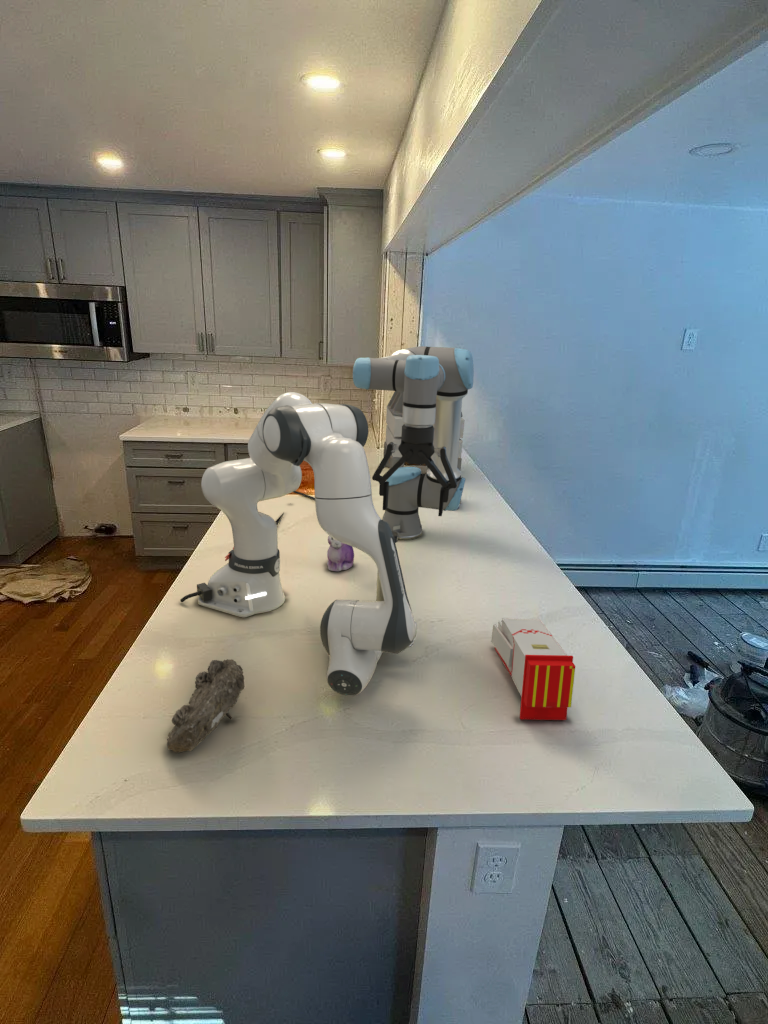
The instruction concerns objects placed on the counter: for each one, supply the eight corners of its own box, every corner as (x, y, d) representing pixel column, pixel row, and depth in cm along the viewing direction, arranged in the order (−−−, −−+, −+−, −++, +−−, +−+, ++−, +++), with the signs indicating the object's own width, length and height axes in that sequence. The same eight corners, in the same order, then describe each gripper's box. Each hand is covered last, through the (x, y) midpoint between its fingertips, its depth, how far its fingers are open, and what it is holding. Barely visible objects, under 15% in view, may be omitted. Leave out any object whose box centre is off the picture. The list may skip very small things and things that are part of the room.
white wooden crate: (382, 463, 289) (386, 382, 275) (445, 464, 293) (451, 384, 279) (390, 482, 257) (394, 392, 243) (460, 483, 261) (468, 394, 247)
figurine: (332, 575, 167) (332, 527, 162) (319, 561, 175) (319, 516, 170) (361, 569, 171) (362, 523, 166) (347, 556, 179) (348, 512, 174)
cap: (394, 536, 139) (395, 529, 139) (399, 543, 135) (400, 536, 135) (378, 537, 138) (378, 530, 138) (382, 544, 134) (382, 537, 134)
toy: (537, 603, 136) (584, 662, 106) (532, 655, 138) (577, 726, 109) (487, 602, 135) (520, 661, 106) (483, 654, 138) (514, 725, 109)
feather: (291, 507, 225) (293, 503, 224) (273, 530, 198) (276, 526, 198) (287, 504, 224) (289, 500, 224) (269, 528, 198) (272, 523, 197)
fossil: (192, 660, 117) (244, 628, 112) (224, 691, 120) (276, 661, 115) (142, 746, 98) (202, 712, 93) (182, 779, 101) (242, 748, 96)
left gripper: (412, 636, 121) (423, 605, 133) (321, 621, 125) (340, 592, 137) (410, 661, 123) (421, 628, 135) (321, 645, 127) (339, 615, 139)
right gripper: (473, 426, 132) (465, 512, 139) (369, 417, 136) (366, 501, 143) (471, 432, 125) (463, 522, 132) (361, 423, 129) (359, 510, 136)
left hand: (379, 610), depth 136 cm, fingers open, 8 cm apart
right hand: (412, 511), depth 138 cm, fingers open, 13 cm apart
